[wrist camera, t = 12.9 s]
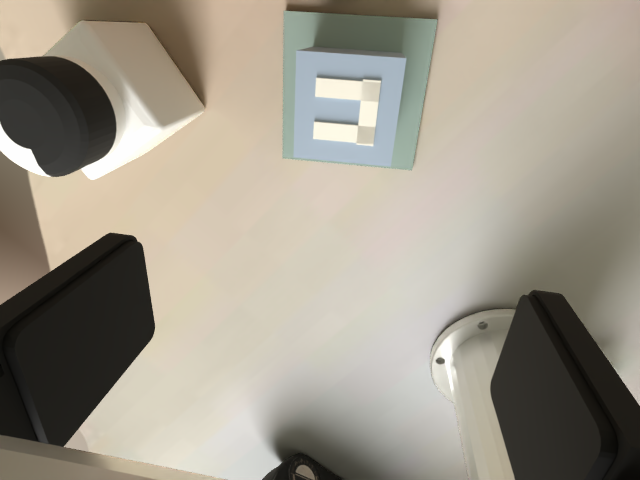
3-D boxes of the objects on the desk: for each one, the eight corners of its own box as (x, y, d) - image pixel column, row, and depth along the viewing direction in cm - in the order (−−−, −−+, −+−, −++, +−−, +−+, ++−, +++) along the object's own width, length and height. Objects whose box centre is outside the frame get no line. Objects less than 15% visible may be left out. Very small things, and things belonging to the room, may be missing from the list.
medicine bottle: (146, 19, 28) (7, 13, 18) (208, 109, 31) (117, 150, 20) (83, 75, 31) (-72, 99, 20) (144, 154, 33) (34, 211, 23)
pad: (436, 19, 26) (437, 19, 25) (411, 167, 31) (411, 170, 30) (285, 11, 27) (283, 10, 26) (284, 156, 31) (282, 158, 31)
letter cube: (401, 52, 26) (406, 58, 21) (389, 142, 29) (390, 167, 24) (312, 46, 27) (295, 50, 22) (308, 134, 30) (292, 158, 24)
